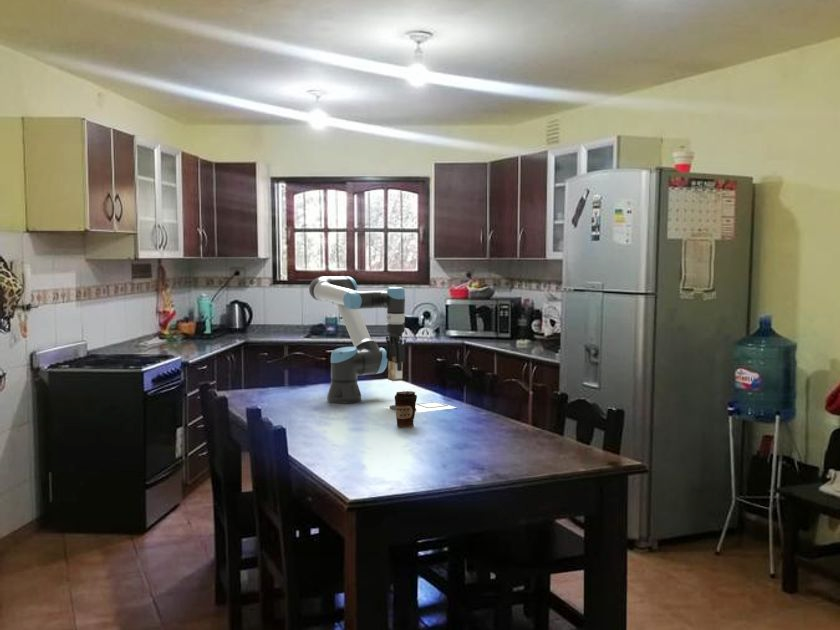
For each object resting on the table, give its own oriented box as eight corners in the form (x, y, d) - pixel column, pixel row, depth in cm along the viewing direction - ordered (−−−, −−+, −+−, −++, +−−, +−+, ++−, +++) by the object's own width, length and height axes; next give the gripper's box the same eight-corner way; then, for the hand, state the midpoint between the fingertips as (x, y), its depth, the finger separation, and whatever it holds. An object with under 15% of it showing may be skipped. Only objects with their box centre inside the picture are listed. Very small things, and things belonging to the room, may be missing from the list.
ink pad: (389, 408, 319) (389, 405, 319) (404, 407, 322) (404, 403, 322) (401, 412, 310) (401, 409, 310) (416, 411, 314) (416, 407, 314)
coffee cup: (414, 429, 282) (414, 394, 281) (392, 428, 283) (392, 393, 282) (418, 424, 290) (418, 390, 289) (397, 423, 292) (397, 389, 291)
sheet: (383, 407, 322) (383, 406, 322) (435, 402, 336) (435, 400, 336) (403, 414, 308) (403, 413, 308) (457, 408, 321) (457, 407, 321)
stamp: (388, 379, 330) (388, 356, 329) (397, 378, 332) (397, 356, 331) (393, 381, 326) (393, 358, 325) (402, 380, 328) (402, 357, 328)
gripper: (378, 321, 333) (378, 374, 335) (398, 325, 318) (397, 381, 320) (393, 321, 336) (393, 373, 339) (413, 324, 321) (413, 379, 324)
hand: (395, 377), depth 329 cm, fingers closed on stamp, 4 cm apart
